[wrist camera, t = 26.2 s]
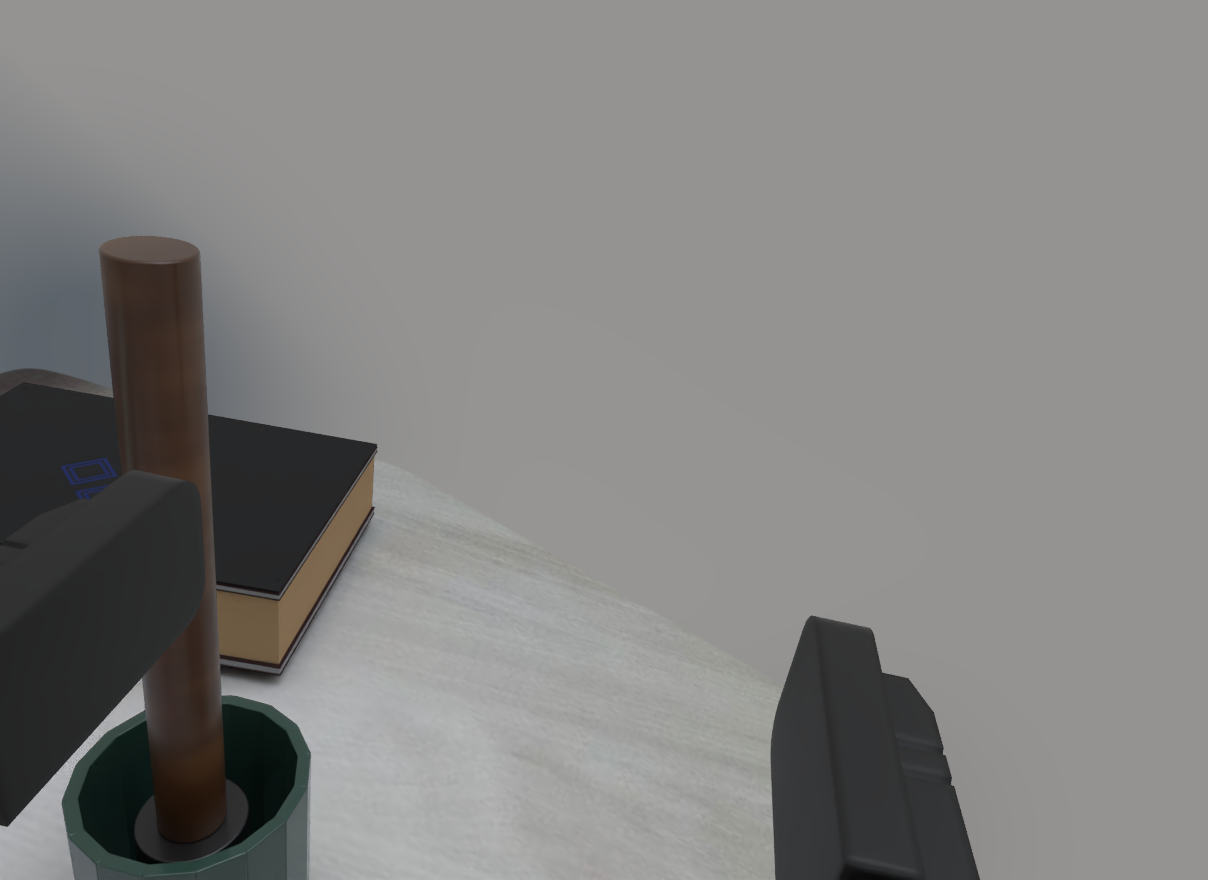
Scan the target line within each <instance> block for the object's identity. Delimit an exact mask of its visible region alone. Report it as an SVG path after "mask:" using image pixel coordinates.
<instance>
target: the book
mask: <svg viewBox="0 0 1208 880" xmlns="http://www.w3.org/2000/svg"><path fill="white" fill-rule="evenodd" d="M208 426H209V447H210V468H211V488H212V509H213V530H214V551H215V571H216V592H217V613H218V634H219V654H220V665H221V666H227V667H233V668H239V669H245V670H250V671H256V672H262V673H268V674H274V675H281V673H282V671H283V670H284V668H285V666H286V665H287V663H288V661H289V659H290V658H291V656H292V654H293V653H294V651H295V649H296V647H297V646H298V644H299V642H300V640H301V639H302V637H303V635H304V634H305V632H306V630H307V628H308V627H309V625H310V623H311V622H312V620H313V618H314V616H315V615H316V613H317V611H318V609H319V608H320V606H321V604H322V603H323V601H324V599H325V597H326V596H327V594H328V592H329V591H330V589H331V587H332V585H333V584H334V582H335V580H336V578H337V577H338V575H339V573H340V572H341V570H342V568H343V566H344V565H345V563H346V561H347V560H348V558H349V556H350V554H351V553H352V551H353V549H354V547H355V546H356V544H357V542H358V541H359V539H360V537H361V535H362V534H363V532H364V530H365V529H366V527H367V525H368V523H369V522H370V520H371V518H372V516H373V515H374V508H375V507H372V493H373V472H374V456H375V454H376V453H377V444H372V443H367V442H361V441H356V440H350V439H345V438H338V437H333V436H327V435H321V434H316V433H310V432H304V431H299V430H293V429H288V428H282V427H276V426H270V425H265V424H259V423H253V422H247V421H242V420H236V419H230V418H224V417H219V416H213V415H208ZM120 476H122V475H121V465H120V455H119V445H118V435H117V426H116V416H115V406H114V398H111V397H105V396H99V395H93V394H88V393H82V392H76V391H71V390H65V389H59V388H54V387H48V386H42V385H36V384H31V383H25V382H24V383H22V384H20V385H18V386H17V387H15V388H13V389H12V390H10V391H8V392H6V393H5V394H3V395H1V396H0V545H3V544H4V540H5V539H6V538H8V537H9V536H10V535H12V534H13V533H15V532H16V531H17V530H19V529H20V528H22V527H23V526H24V525H26V524H27V523H29V522H30V521H31V520H33V519H34V518H36V517H37V516H39V515H41V514H44V513H46V512H49V511H51V510H54V509H56V508H59V507H61V506H64V505H67V504H69V503H72V502H74V501H77V500H79V499H82V498H84V499H88V500H90V499H91V498H92V497H94V496H95V495H96V494H98V493H99V492H100V491H102V490H103V489H104V488H106V487H107V486H108V485H110V484H111V483H112V482H114V481H115V480H116V479H118V478H119V477H120Z"/></svg>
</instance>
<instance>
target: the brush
mask: <svg viewBox="0 0 1208 880" xmlns="http://www.w3.org/2000/svg"><path fill="white" fill-rule="evenodd" d="M99 257H100V267H101V277H102V288H103V297H104V307H105V317H106V326H107V337H108V347H109V357H110V366H111V375H112V386H113V396H114V406H115V416H116V426H117V435H118V445H119V455H120V465H121V475H123V474H125V473H126V472H129V471H131V470H139V471H143V472H148V473H153V474H157V475H162V476H167V477H171V478H176V479H181V480H186V481H190V482H193V483H194V484H195V485H196V486H197V488H198V490H199V493H200V499H201V513H202V528H203V543H204V559H205V574H206V582H205V590H204V594H203V598H202V601H201V604H200V607H199V609H198V611H197V613H196V615H195V617H194V619H193V620H192V622H191V623H190V624H189V626H188V627H187V628H186V629H185V630H184V631H183V632H182V634H181V635H180V636H179V637H178V638H177V639H176V640H175V641H174V642H173V644H172V645H171V646H170V647H169V648H168V649H167V650H166V651H165V652H164V654H163V655H162V656H161V657H160V658H159V659H158V660H157V661H156V662H155V664H154V665H153V666H152V667H151V668H150V669H149V670H148V671H147V672H146V674H145V675H144V676H143V677H142V682H143V692H144V702H145V712H146V721H147V731H148V741H149V751H150V761H151V771H152V781H153V790H154V794H153V795H152V796H151V797H150V798H149V799H148V800H147V801H146V802H145V803H144V805H143V806H142V807H141V809H140V810H139V812H138V814H137V816H136V819H135V822H134V826H133V839H134V847H135V856H136V861H138V862H142V863H145V864H160V863H173V862H186V861H196V860H199V859H201V858H204V857H207V856H209V855H212V854H214V853H217V852H220V851H222V850H225V849H227V848H230V847H233V846H235V845H238V844H240V843H242V842H243V841H244V840H245V839H247V838H248V837H249V836H250V807H249V801H248V798H247V796H246V794H245V792H244V791H243V790H242V789H241V787H240V786H238V785H237V784H236V783H234V782H233V781H231V780H229V779H227V778H225V758H224V737H223V716H222V696H221V675H220V654H219V634H218V613H217V592H216V571H215V551H214V530H213V509H212V488H211V468H210V447H209V426H208V406H207V387H206V386H207V385H206V364H205V344H204V325H203V302H202V281H201V261H200V251H199V250H198V248H197V247H196V246H194V245H192V244H190V243H188V242H185V241H181V240H177V239H172V238H166V237H155V236H132V237H122V238H117V239H113V240H109V241H107V242H105V243H103V244H102V245H101V246H100V248H99Z"/></svg>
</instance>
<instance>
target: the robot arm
mask: <svg viewBox="0 0 1208 880" xmlns="http://www.w3.org/2000/svg"><path fill="white" fill-rule="evenodd" d="M205 582H206V574H205V559H204V543H203V528H202V513H201V499H200V493H199V490H198V488H197V486H196V485H195V484H194V483H193V482H190V481H186V480H181V479H176V478H171V477H167V476H162V475H157V474H153V473H148V472H143V471H139V470H131V471H129V472H126V473H125V474H123V475H122V476H120V477H119V478H118V479H116V480H115V481H114V482H112V483H111V484H110V485H108V486H107V487H106V488H104V489H103V490H102V491H100V492H99V493H98V494H96V495H95V496H94V497H92V498H91V499H90V500H88V499H84V498H82V499H79V500H77V501H74V502H72V503H69V504H67V505H64V506H61V507H59V508H56V509H54V510H51V511H49V512H46V513H44V514H41V515H39V516H37V517H36V518H34V519H33V520H31V521H30V522H29V523H27V524H26V525H24V526H23V527H22V528H20V529H19V530H17V531H16V532H15V533H13V534H12V535H10V536H9V537H8V538H6V539H5V540H4V544H3V545H0V825H2V826H6V827H8V826H9V825H10V824H11V822H12V821H13V820H14V819H15V818H16V817H17V816H18V815H19V814H20V812H21V811H22V810H23V809H24V808H25V807H26V806H27V805H28V804H29V802H30V801H31V800H32V799H33V798H34V797H35V796H36V795H37V794H38V792H39V791H40V790H41V789H42V788H43V787H44V786H45V785H46V784H47V782H48V781H49V780H50V779H51V778H52V777H53V776H54V775H55V774H56V772H57V771H58V770H59V769H60V768H61V767H62V766H63V765H64V764H65V762H66V761H67V760H68V759H69V758H70V757H71V756H72V755H73V754H74V752H75V751H76V750H77V749H78V748H79V747H80V746H81V745H82V744H83V742H84V741H85V740H86V739H87V738H88V737H89V736H90V735H91V734H92V732H93V731H94V730H95V729H96V728H97V727H98V726H99V725H100V724H101V722H102V721H103V720H104V719H105V718H106V717H107V716H108V715H109V714H110V712H111V711H112V710H113V709H114V708H115V707H116V706H117V705H118V704H119V702H120V701H121V700H122V699H123V698H124V697H125V696H126V695H127V694H128V692H129V691H130V690H131V689H132V688H133V687H134V686H135V685H136V684H137V682H138V681H139V680H140V679H141V678H142V677H143V676H144V675H145V674H146V672H147V671H148V670H149V669H150V668H151V667H152V666H153V665H154V664H155V662H156V661H157V660H158V659H159V658H160V657H161V656H162V655H163V654H164V652H165V651H166V650H167V649H168V648H169V647H170V646H171V645H172V644H173V642H174V641H175V640H176V639H177V638H178V637H179V636H180V635H181V634H182V632H183V631H184V630H185V629H186V628H187V627H188V626H189V624H190V623H191V622H192V620H193V619H194V617H195V615H196V613H197V611H198V609H199V607H200V604H201V601H202V598H203V594H204V590H205ZM943 749H944V748H943V744H942V741H941V737H940V734H939V730H938V726H937V723H936V719H935V715H934V712H933V711H932V710H931V708H930V707H929V706H928V704H927V703H926V702H925V700H924V699H923V698H922V696H921V695H920V694H919V692H918V691H917V689H916V688H915V687H914V685H913V684H912V683H911V681H910V680H909V679H908V678H904V677H900V676H895V675H890V674H885V673H882V670H881V665H880V661H879V656H878V652H877V647H876V643H875V638H874V634H873V632H872V630H871V629H870V628H867V627H862V626H858V625H853V624H848V623H844V622H839V621H834V620H829V619H825V618H820V617H816V616H810V617H809V618H808V620H807V621H806V624H805V626H804V628H803V631H802V634H801V637H800V640H799V643H798V646H797V649H796V652H795V655H794V658H793V661H792V665H791V667H790V670H789V673H788V676H787V679H786V682H785V685H784V688H783V691H782V694H781V697H780V700H779V704H778V707H777V711H776V715H775V719H774V725H773V731H772V739H771V780H772V805H773V829H774V854H775V878H776V880H980V878H979V874H978V871H977V868H976V864H975V860H974V857H973V853H972V849H971V846H970V842H969V838H968V835H967V831H966V828H965V824H964V820H963V817H962V813H961V809H960V806H959V803H958V799H957V795H956V791H955V788H954V786H952V785H951V779H952V777H951V773H950V770H949V766H948V762H947V759H946V756H945V755H943Z"/></svg>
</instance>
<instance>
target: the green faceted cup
mask: <svg viewBox="0 0 1208 880" xmlns="http://www.w3.org/2000/svg"><path fill="white" fill-rule="evenodd" d="M222 716H223V737H224V758H225V778H227V779H229V780H231V781H233V782H234V783H236V784H237V785H238V786H240V787H241V789H242V790H243V791H244V792H245V794H246V796H247V798H248V801H249V807H250V836H249V837H248V838H247V839H245V840H244V841H243V842H242V843H240V844H238V845H235V846H233V847H230V848H227V849H225V850H222V851H220V852H217V853H214V854H212V855H209V856H207V857H204V858H201V859H199V860H196V861H186V862H173V863H160V864H145V863H142V862H138V861H136V856H135V847H134V839H133V826H134V822H135V819H136V816H137V814H138V812H139V810H140V809H141V807H142V806H143V805H144V803H145V802H146V801H147V800H148V799H149V798H150V797H151V796H152V795H153V794H154V790H153V781H152V771H151V761H150V751H149V741H148V731H147V721H146V712H145V710H144V711H143V712H141V713H139V714H138V715H136V716H134V717H132V718H131V719H129V720H127V721H125V722H124V723H122V724H120V725H119V726H117V727H115V728H113V729H112V730H110V731H108V732H107V733H106V734H104V736H103V737H102V738H101V739H100V740H99V741H98V742H97V743H96V744H95V745H94V746H93V747H92V748H91V749H90V750H89V751H88V752H87V753H86V755H85V756H84V757H83V758H82V759H81V760H80V761H79V762H78V763H77V765H76V766H75V768H74V771H73V773H72V776H71V779H70V781H69V784H68V786H67V789H66V791H65V794H64V797H63V799H62V809H63V815H64V821H65V826H66V832H67V838H68V844H69V850H70V856H71V862H72V868H73V873H74V879H75V880H309V864H310V790H311V753H310V750H309V748H308V746H307V744H306V742H305V740H304V738H303V736H302V734H301V731H300V729H299V727H298V726H297V724H295V723H294V722H293V721H291V720H290V719H289V718H287V717H286V716H285V715H283V714H282V713H281V712H279V711H278V710H276V709H275V708H274V707H272V706H271V705H268V704H264V703H260V702H257V701H253V700H249V699H245V698H241V697H238V696H232V695H229V696H222Z"/></svg>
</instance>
